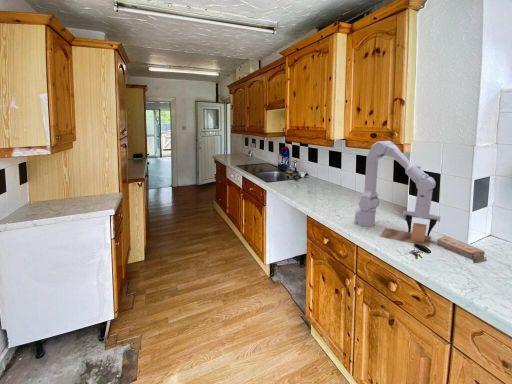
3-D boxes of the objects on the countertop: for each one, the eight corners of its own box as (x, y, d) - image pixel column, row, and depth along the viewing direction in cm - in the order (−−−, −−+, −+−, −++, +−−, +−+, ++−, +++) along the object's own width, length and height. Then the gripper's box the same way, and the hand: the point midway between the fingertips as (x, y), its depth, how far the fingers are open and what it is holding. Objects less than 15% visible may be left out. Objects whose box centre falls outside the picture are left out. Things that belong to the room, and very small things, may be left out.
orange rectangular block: (410, 239, 137) (412, 225, 135) (412, 236, 141) (414, 222, 140) (423, 242, 134) (426, 227, 133) (424, 238, 138) (426, 224, 137)
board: (379, 239, 140) (379, 236, 140) (385, 230, 151) (385, 227, 151) (429, 249, 130) (429, 246, 129) (430, 239, 141) (431, 236, 141)
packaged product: (489, 250, 119) (471, 253, 116) (487, 261, 120) (469, 264, 117) (447, 233, 136) (431, 236, 132) (445, 244, 137) (429, 246, 133)
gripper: (403, 203, 134) (399, 232, 137) (441, 209, 127) (436, 239, 130) (405, 200, 140) (402, 228, 143) (442, 205, 133) (437, 234, 136)
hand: (418, 233), depth 137 cm, fingers open, 7 cm apart
